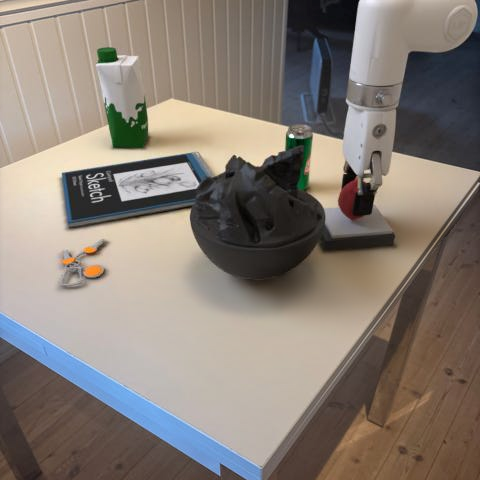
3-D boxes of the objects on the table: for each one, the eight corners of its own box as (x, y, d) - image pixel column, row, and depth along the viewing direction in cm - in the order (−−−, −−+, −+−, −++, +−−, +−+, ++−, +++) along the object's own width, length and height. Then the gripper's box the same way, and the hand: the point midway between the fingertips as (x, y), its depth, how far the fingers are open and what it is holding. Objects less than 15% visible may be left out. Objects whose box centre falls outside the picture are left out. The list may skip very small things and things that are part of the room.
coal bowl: (191, 309, 71) (179, 190, 58) (197, 235, 86) (188, 127, 73) (328, 306, 71) (345, 186, 59) (310, 232, 86) (321, 125, 73)
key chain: (102, 284, 75) (100, 280, 75) (53, 288, 75) (51, 284, 74) (108, 240, 85) (107, 236, 84) (65, 243, 84) (64, 239, 83)
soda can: (309, 193, 97) (314, 133, 89) (283, 193, 97) (286, 133, 89) (307, 182, 101) (312, 123, 93) (282, 182, 101) (285, 123, 93)
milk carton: (117, 135, 121) (100, 44, 107) (153, 135, 120) (141, 44, 107) (108, 149, 114) (89, 54, 101) (146, 149, 114) (133, 54, 100)
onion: (376, 222, 83) (385, 178, 78) (350, 231, 81) (357, 187, 76) (354, 208, 87) (361, 165, 82) (329, 216, 85) (334, 173, 80)
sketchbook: (62, 178, 103) (60, 169, 102) (199, 158, 110) (199, 149, 109) (69, 228, 88) (66, 218, 87) (228, 201, 95) (227, 191, 93)
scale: (373, 215, 90) (376, 203, 88) (393, 245, 83) (396, 232, 81) (308, 220, 89) (309, 207, 87) (322, 251, 82) (324, 237, 80)
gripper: (422, 111, 64) (395, 229, 76) (378, 73, 77) (361, 180, 89) (367, 114, 64) (348, 233, 76) (332, 76, 76) (320, 183, 88)
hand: (355, 203), depth 82 cm, fingers closed on onion, 5 cm apart
